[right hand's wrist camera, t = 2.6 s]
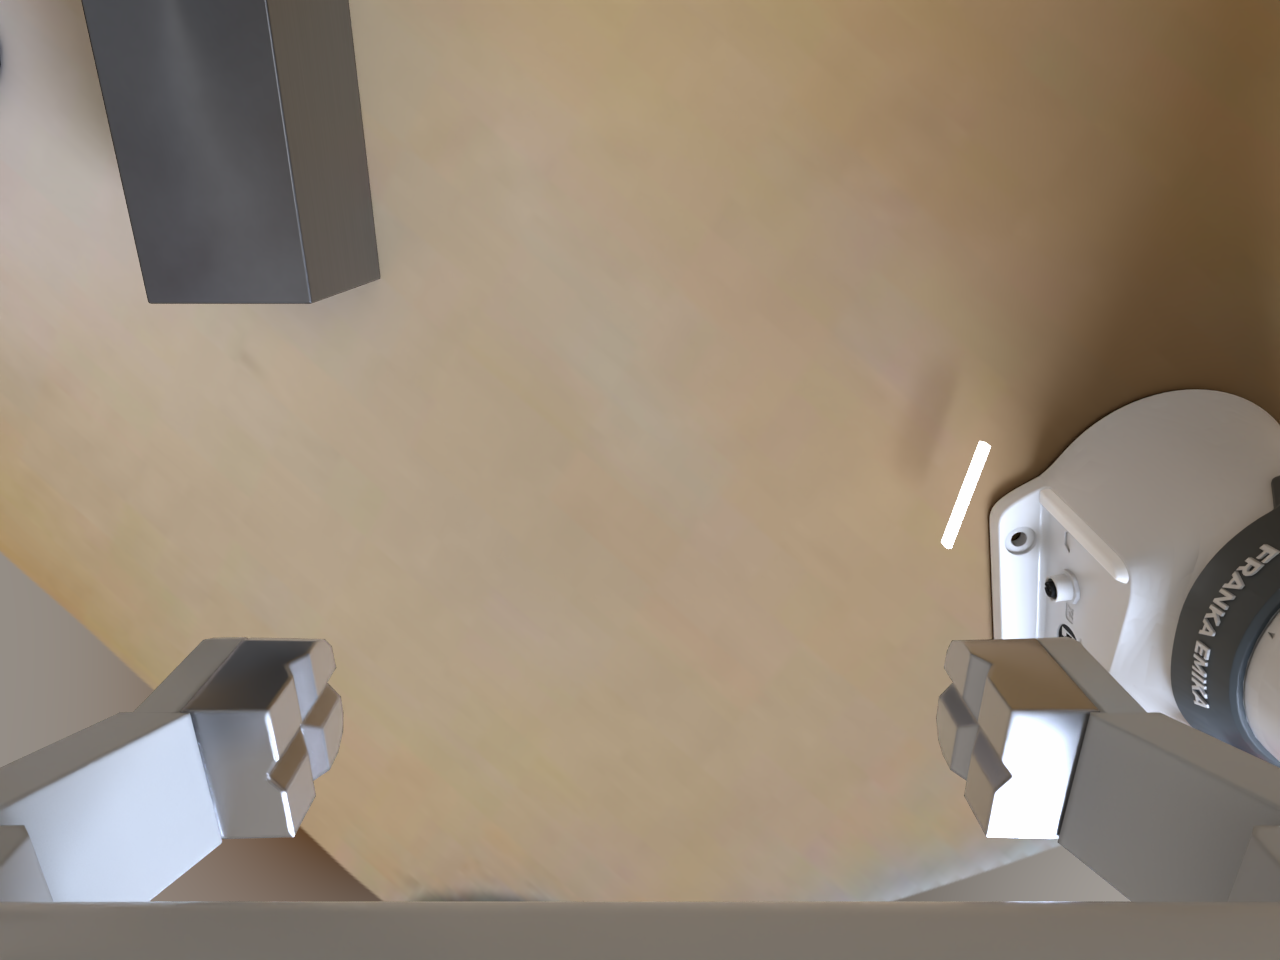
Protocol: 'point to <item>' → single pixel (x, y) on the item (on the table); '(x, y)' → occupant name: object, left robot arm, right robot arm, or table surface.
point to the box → (238, 146)
